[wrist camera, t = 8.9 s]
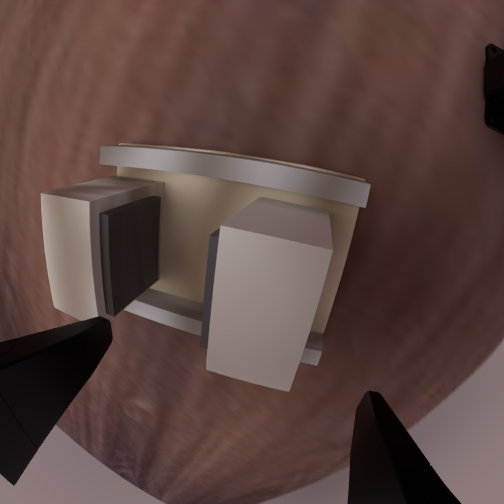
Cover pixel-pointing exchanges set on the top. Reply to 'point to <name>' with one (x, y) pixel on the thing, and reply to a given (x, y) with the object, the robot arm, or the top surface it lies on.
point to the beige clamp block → (177, 230)
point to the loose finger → (264, 290)
